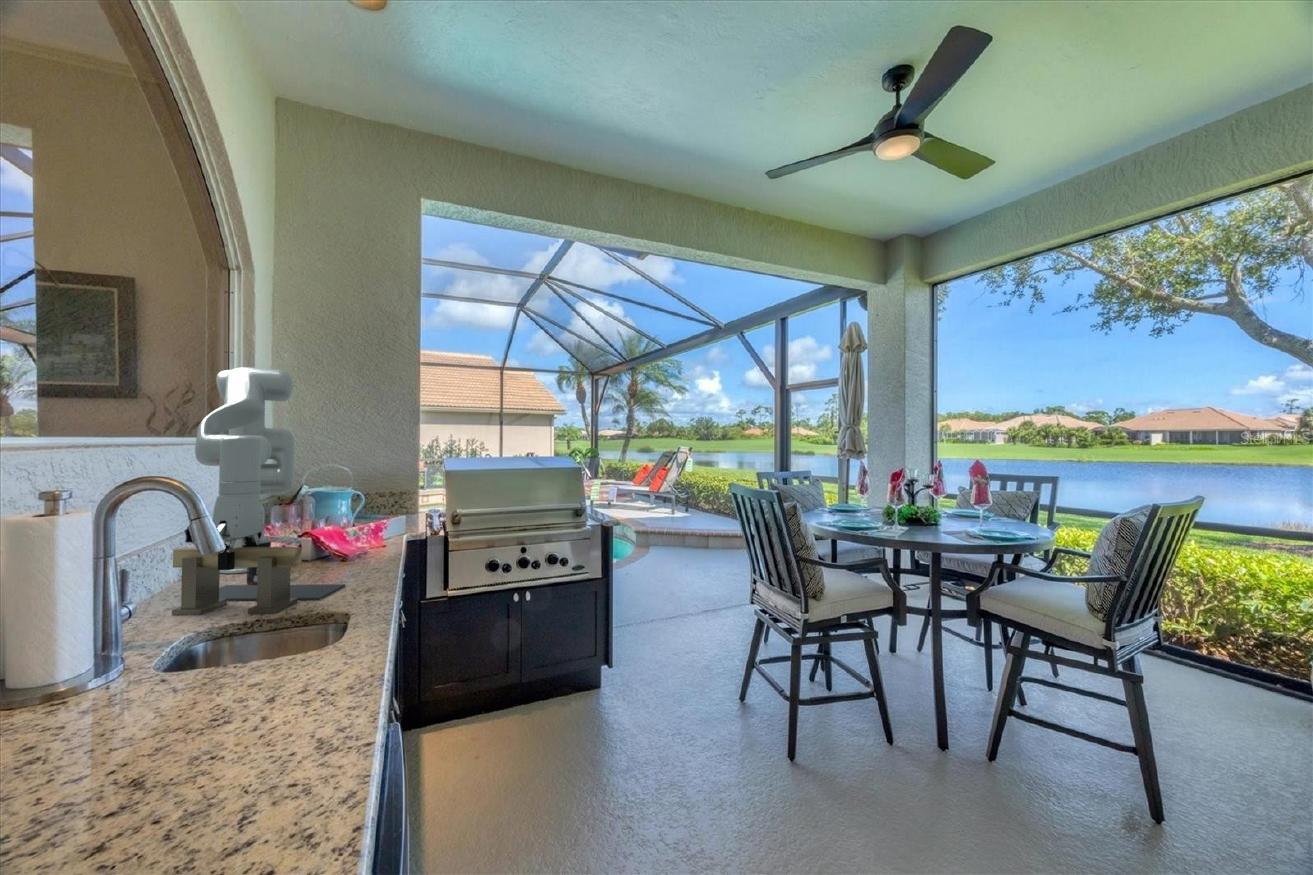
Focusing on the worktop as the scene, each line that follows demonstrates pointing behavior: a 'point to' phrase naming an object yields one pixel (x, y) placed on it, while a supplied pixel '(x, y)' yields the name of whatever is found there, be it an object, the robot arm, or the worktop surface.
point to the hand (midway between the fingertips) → (238, 565)
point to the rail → (244, 556)
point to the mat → (295, 591)
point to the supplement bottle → (253, 571)
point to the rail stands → (204, 597)
